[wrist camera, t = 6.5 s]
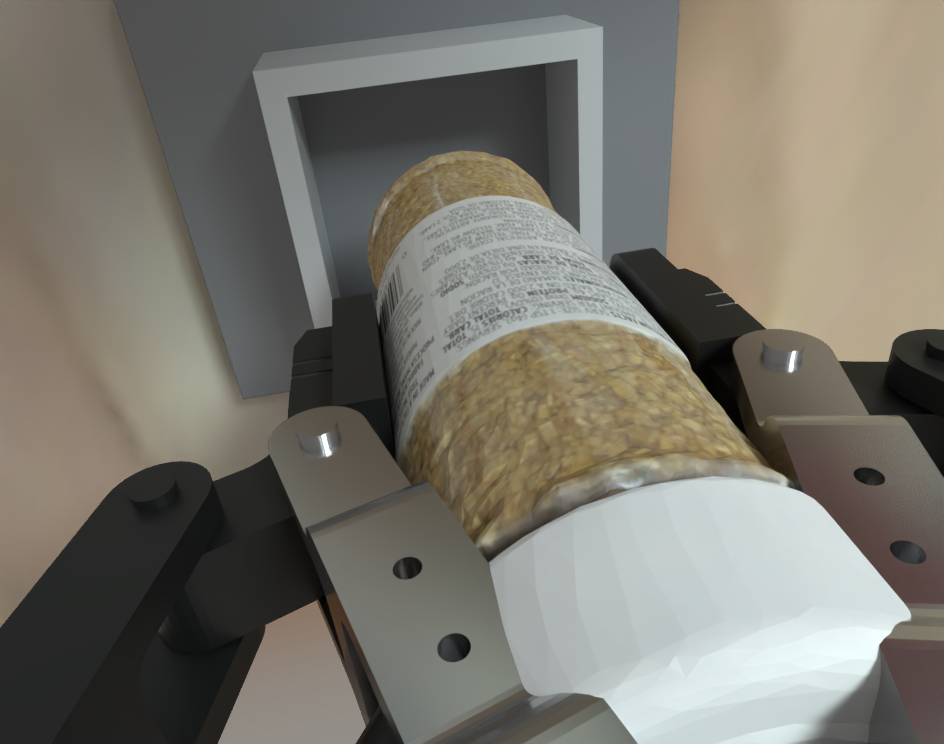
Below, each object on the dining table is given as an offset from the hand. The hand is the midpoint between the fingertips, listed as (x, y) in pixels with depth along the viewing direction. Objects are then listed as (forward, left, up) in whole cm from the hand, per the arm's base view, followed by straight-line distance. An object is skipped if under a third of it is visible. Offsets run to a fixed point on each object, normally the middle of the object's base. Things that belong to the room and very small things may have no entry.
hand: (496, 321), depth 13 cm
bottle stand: (0, 0, -9) cm, 9 cm away
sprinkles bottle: (0, 0, -4) cm, 4 cm away
